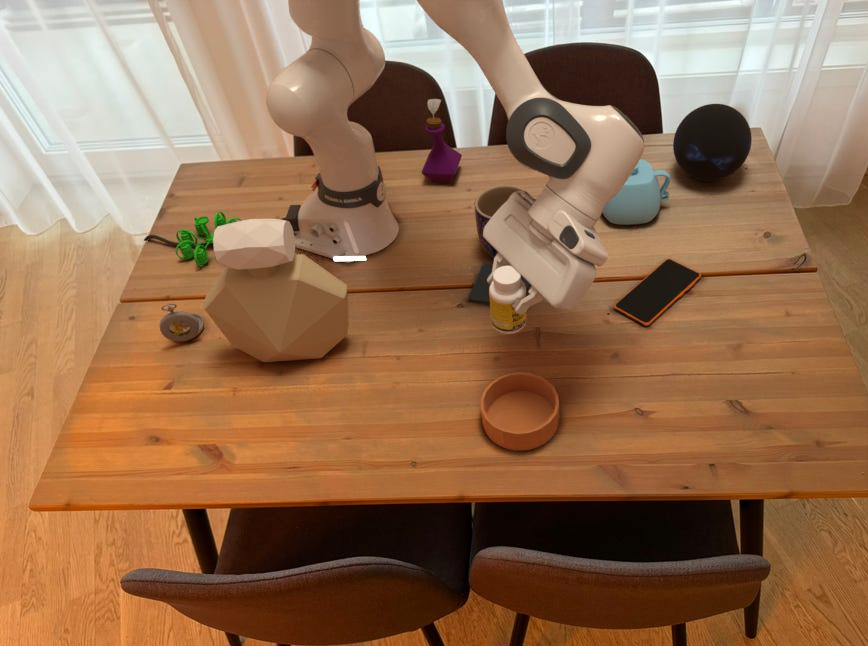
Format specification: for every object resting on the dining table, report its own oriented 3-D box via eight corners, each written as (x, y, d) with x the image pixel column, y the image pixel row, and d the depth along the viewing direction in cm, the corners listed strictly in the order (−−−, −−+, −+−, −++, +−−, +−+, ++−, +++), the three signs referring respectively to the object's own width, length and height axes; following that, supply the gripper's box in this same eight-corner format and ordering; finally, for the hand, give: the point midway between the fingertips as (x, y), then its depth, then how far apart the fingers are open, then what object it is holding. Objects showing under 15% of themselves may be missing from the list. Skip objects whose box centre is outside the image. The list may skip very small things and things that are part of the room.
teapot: (576, 149, 148) (669, 143, 146) (575, 193, 156) (663, 189, 154) (581, 186, 140) (679, 181, 138) (579, 231, 148) (672, 227, 146)
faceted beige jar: (235, 330, 138) (178, 206, 117) (363, 319, 137) (329, 192, 116) (222, 379, 130) (158, 256, 109) (358, 369, 128) (321, 242, 108)
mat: (468, 301, 137) (467, 298, 137) (483, 266, 143) (483, 263, 143) (521, 309, 135) (520, 306, 134) (534, 273, 141) (534, 270, 140)
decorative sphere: (669, 153, 162) (677, 89, 151) (741, 154, 160) (755, 89, 149) (669, 195, 153) (678, 129, 142) (746, 197, 150) (761, 130, 139)
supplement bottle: (516, 339, 111) (513, 291, 104) (484, 327, 114) (480, 280, 106) (533, 316, 114) (532, 268, 107) (502, 305, 116) (499, 257, 109)
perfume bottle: (456, 187, 161) (447, 111, 148) (423, 185, 163) (411, 110, 149) (463, 167, 166) (455, 92, 153) (431, 165, 168) (420, 91, 154)
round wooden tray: (473, 442, 116) (471, 425, 113) (494, 384, 123) (492, 366, 120) (549, 457, 113) (549, 440, 110) (565, 397, 120) (566, 379, 117)
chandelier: (194, 281, 148) (181, 254, 143) (167, 245, 157) (154, 218, 152) (262, 248, 153) (251, 221, 148) (232, 214, 162) (221, 188, 157)
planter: (536, 264, 142) (535, 217, 134) (479, 268, 143) (474, 222, 135) (532, 228, 150) (531, 181, 141) (478, 232, 150) (473, 186, 142)
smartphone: (612, 308, 132) (612, 305, 132) (667, 260, 139) (667, 257, 139) (647, 328, 128) (647, 324, 128) (702, 277, 136) (703, 274, 135)
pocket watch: (204, 313, 142) (184, 273, 134) (206, 339, 137) (186, 300, 129) (168, 322, 141) (147, 283, 133) (170, 350, 136) (147, 310, 128)
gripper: (505, 177, 109) (454, 254, 114) (590, 251, 97) (529, 334, 101) (531, 191, 114) (481, 265, 118) (616, 264, 101) (556, 343, 106)
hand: (504, 298), depth 110 cm, fingers closed on supplement bottle, 5 cm apart
